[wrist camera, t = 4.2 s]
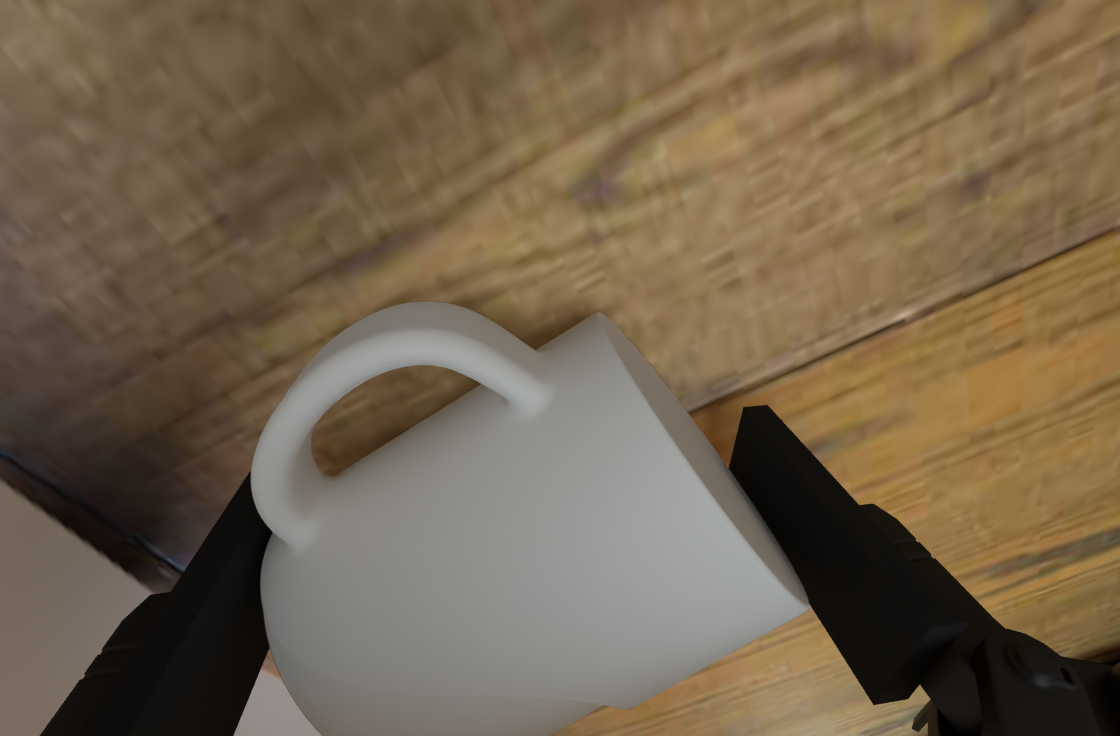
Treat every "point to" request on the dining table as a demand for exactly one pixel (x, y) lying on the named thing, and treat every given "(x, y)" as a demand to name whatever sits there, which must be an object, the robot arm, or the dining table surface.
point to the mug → (504, 537)
